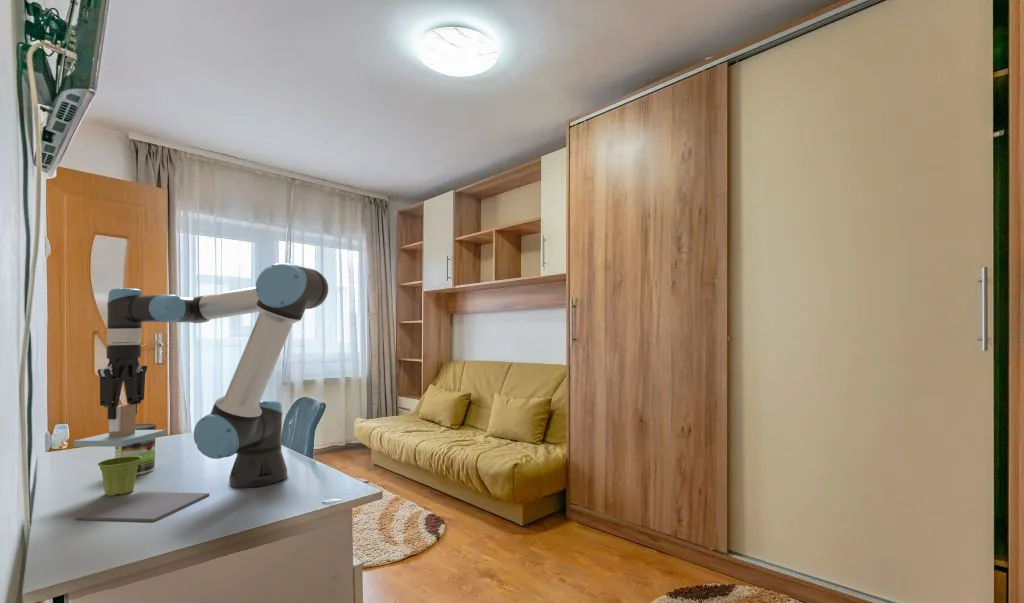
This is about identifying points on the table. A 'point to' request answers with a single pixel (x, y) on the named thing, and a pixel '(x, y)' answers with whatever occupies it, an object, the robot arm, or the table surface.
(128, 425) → the cover lid
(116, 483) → the plant pot
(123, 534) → the table surface
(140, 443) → the coffee can
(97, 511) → the mat
